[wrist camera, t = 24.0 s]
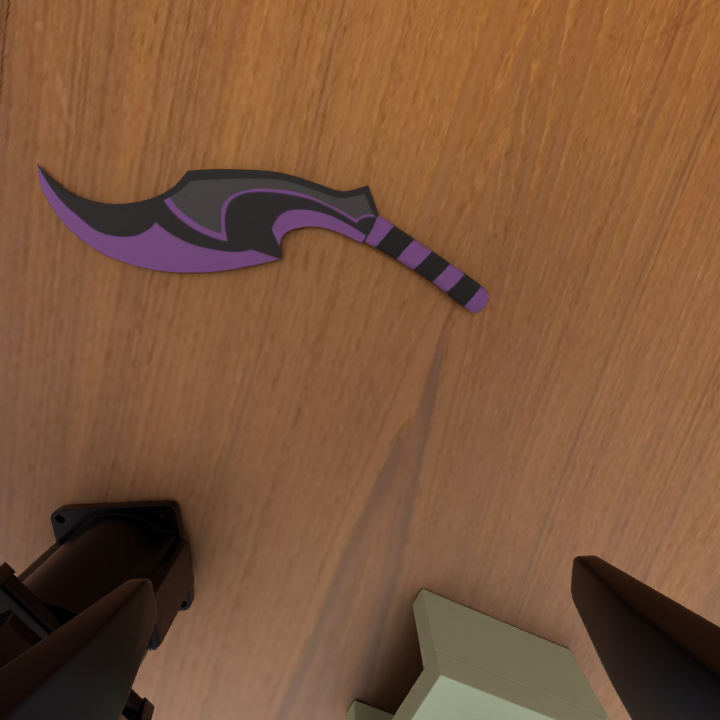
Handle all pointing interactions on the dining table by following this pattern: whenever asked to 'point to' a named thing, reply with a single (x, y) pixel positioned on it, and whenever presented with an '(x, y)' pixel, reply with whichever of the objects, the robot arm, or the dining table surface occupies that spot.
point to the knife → (243, 225)
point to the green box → (487, 672)
